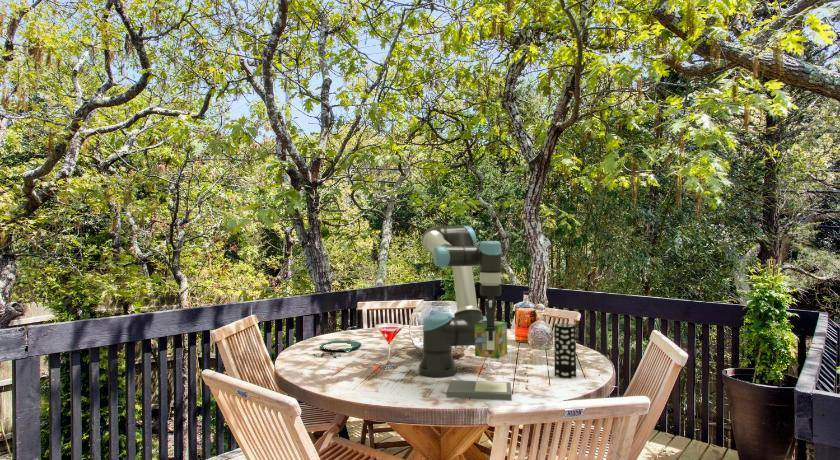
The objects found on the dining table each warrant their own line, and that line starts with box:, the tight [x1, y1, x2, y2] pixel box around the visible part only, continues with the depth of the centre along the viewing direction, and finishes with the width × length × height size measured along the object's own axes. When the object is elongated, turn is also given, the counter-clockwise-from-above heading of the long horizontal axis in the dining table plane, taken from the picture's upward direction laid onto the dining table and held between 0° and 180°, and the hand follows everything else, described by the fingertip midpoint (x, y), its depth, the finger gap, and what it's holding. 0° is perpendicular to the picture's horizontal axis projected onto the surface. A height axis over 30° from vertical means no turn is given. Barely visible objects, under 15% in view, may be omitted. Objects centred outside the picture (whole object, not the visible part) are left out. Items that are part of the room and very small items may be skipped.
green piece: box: [319, 340, 362, 355], centre depth 248 cm, size 20×30×2 cm, turn 163°
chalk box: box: [474, 313, 508, 360], centre depth 181 cm, size 9×9×15 cm
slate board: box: [446, 379, 513, 401], centre depth 182 cm, size 22×14×2 cm, turn 81°
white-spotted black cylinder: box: [553, 322, 577, 379], centre depth 204 cm, size 8×8×20 cm
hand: (490, 346), depth 181 cm, fingers closed on chalk box, 11 cm apart
